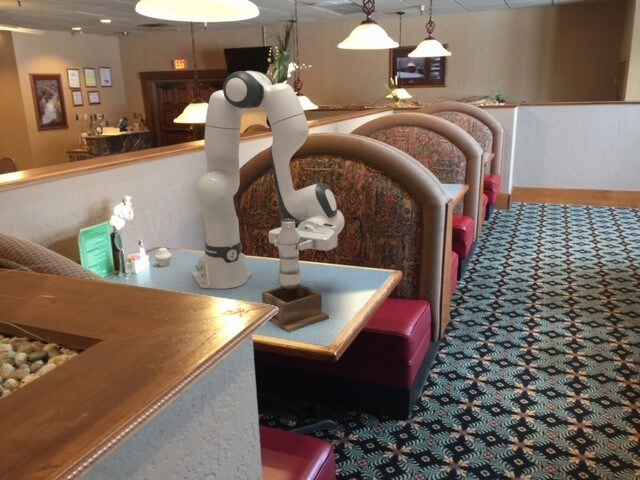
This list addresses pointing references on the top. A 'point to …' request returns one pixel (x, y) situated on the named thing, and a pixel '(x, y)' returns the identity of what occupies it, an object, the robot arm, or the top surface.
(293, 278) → the plastic bottle
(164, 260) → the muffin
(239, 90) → the robot arm
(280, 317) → the bottle caddy
